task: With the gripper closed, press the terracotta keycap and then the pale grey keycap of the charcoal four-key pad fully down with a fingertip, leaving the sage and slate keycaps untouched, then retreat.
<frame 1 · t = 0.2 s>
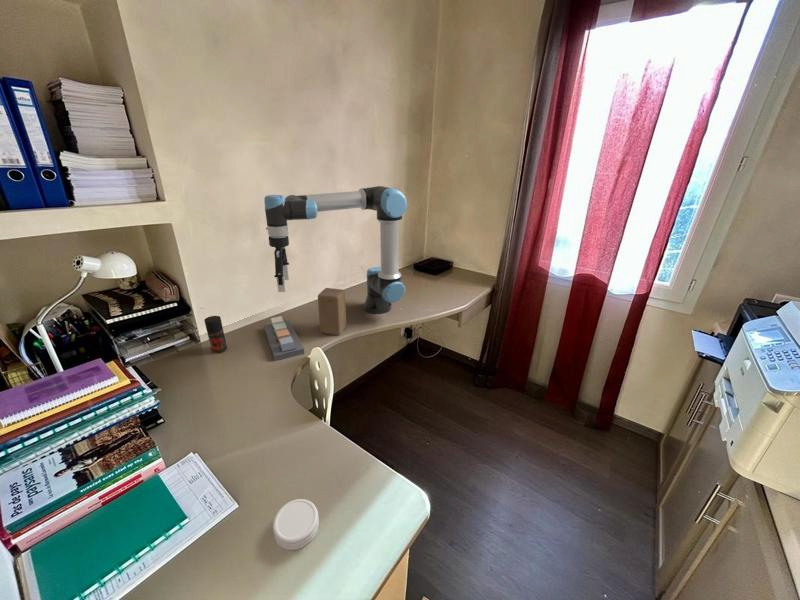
hand: (283, 285, 142), 27 cm above the table, fingers open, 13 cm apart
deodorant: (219, 350, 145), on the table
white round container: (297, 528, 78), on the table
key slate: (286, 343, 142), point 4 cm above the table, slide at 0.0 cm
wooden block: (333, 330, 163), on the table
key sage: (280, 329, 154), point 4 cm above the table, slide at 0.0 cm
keypad base: (283, 340, 153), on the table
key terracotta: (283, 336, 148), point 4 cm above the table, slide at 0.0 cm
key grey: (277, 322, 159), point 4 cm above the table, slide at 0.0 cm
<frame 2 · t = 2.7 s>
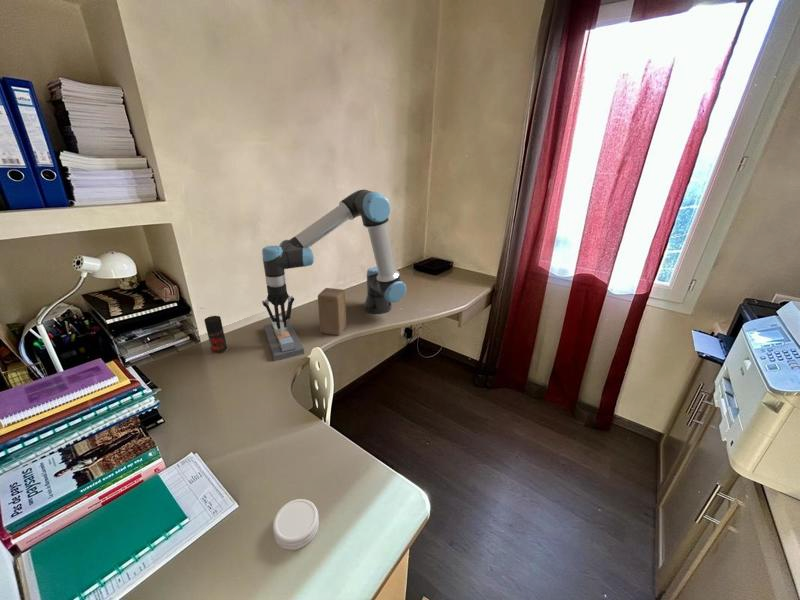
hand: (282, 334, 147), 5 cm above the table, fingers closed
key terracotta: (283, 337, 148), point 3 cm above the table, slide at 0.8 cm, touching gripper
everything else where it was.
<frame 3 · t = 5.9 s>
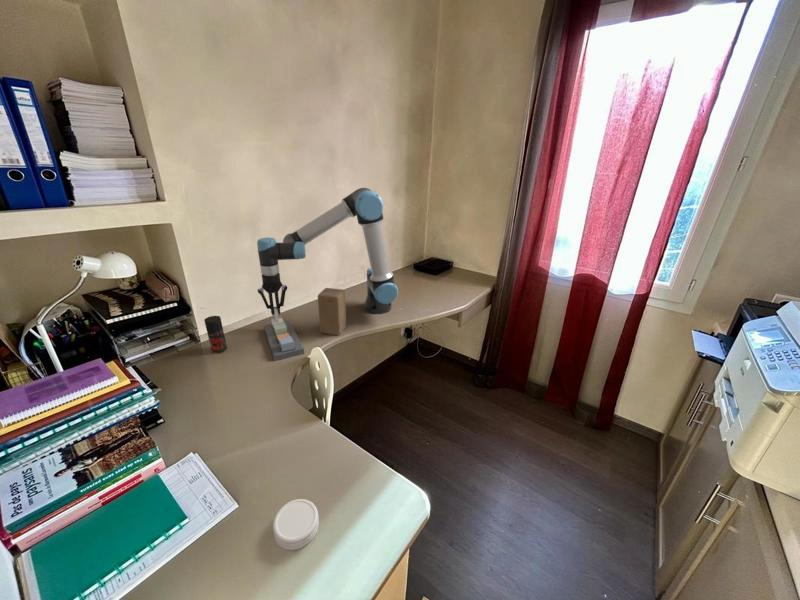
hand: (276, 320, 159), 6 cm above the table, fingers closed
key terracotta: (283, 339, 149), point 2 cm above the table, slide at 1.8 cm
key grey: (277, 324, 159), point 4 cm above the table, slide at 0.7 cm, touching gripper
everything else where it was.
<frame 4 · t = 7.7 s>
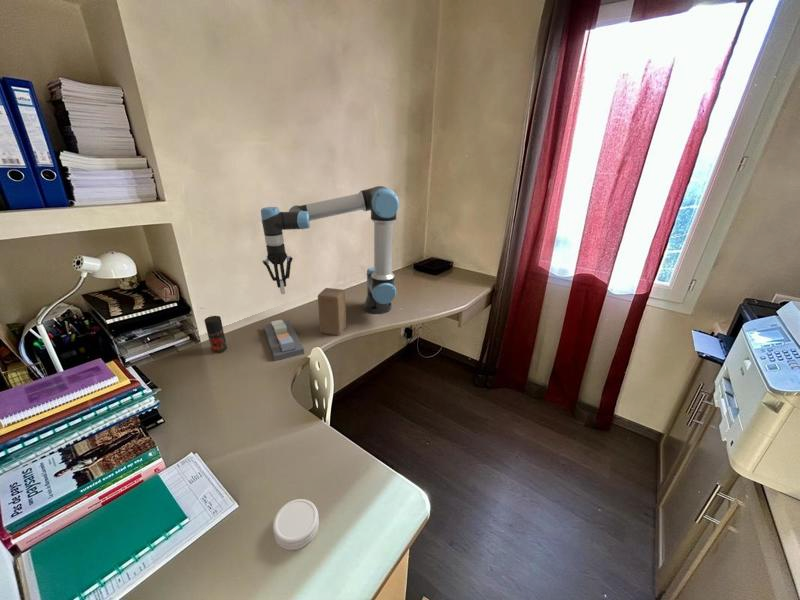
hand: (283, 293, 157), 18 cm above the table, fingers closed
key grey: (278, 326, 160), point 2 cm above the table, slide at 1.8 cm
everything else where it was.
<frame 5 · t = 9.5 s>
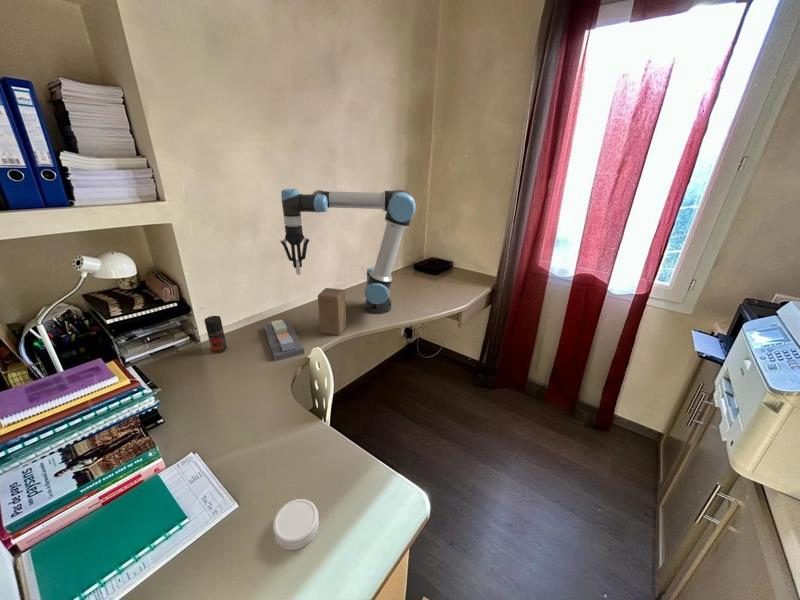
hand: (298, 273, 163), 24 cm above the table, fingers closed
nothing on the table moved.
at the end: key terracotta slide at 1.8 cm; key grey slide at 1.8 cm; key sage slide at 0.0 cm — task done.
